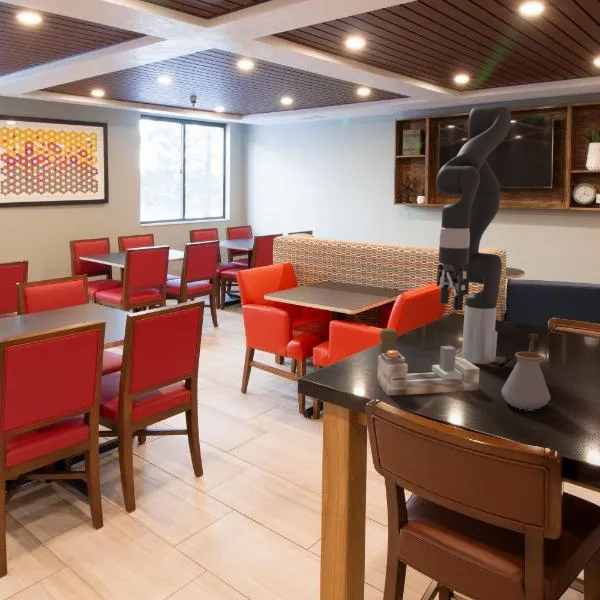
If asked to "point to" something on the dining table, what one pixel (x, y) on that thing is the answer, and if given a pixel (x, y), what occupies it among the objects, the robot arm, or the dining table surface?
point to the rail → (423, 378)
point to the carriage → (447, 364)
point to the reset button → (392, 354)
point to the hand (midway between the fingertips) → (450, 306)
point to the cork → (387, 340)
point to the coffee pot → (527, 381)
